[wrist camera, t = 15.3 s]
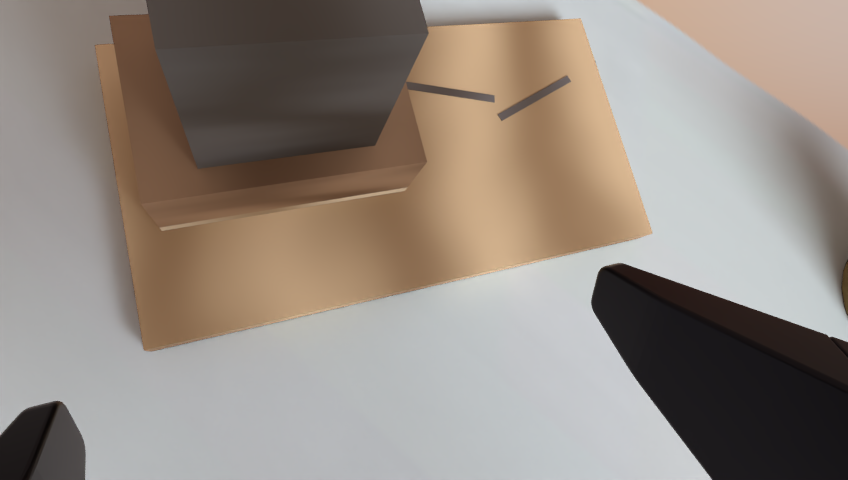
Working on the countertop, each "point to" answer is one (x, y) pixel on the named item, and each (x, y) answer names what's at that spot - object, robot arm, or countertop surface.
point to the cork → (845, 286)
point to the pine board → (406, 193)
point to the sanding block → (268, 104)
